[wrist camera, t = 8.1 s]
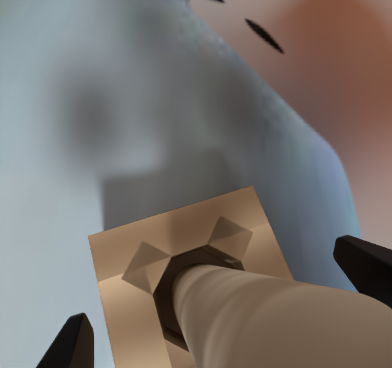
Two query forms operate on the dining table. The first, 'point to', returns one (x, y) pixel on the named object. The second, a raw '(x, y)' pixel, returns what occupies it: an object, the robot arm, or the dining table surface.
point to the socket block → (175, 270)
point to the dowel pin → (277, 322)
